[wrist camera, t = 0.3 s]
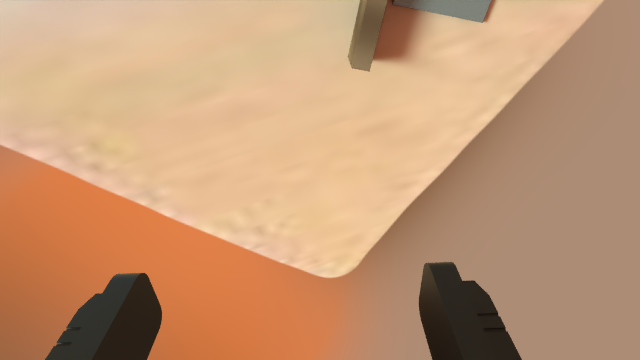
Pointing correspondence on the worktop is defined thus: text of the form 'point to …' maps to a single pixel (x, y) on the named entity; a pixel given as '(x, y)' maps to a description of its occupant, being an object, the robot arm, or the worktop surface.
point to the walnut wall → (366, 33)
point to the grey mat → (450, 7)
